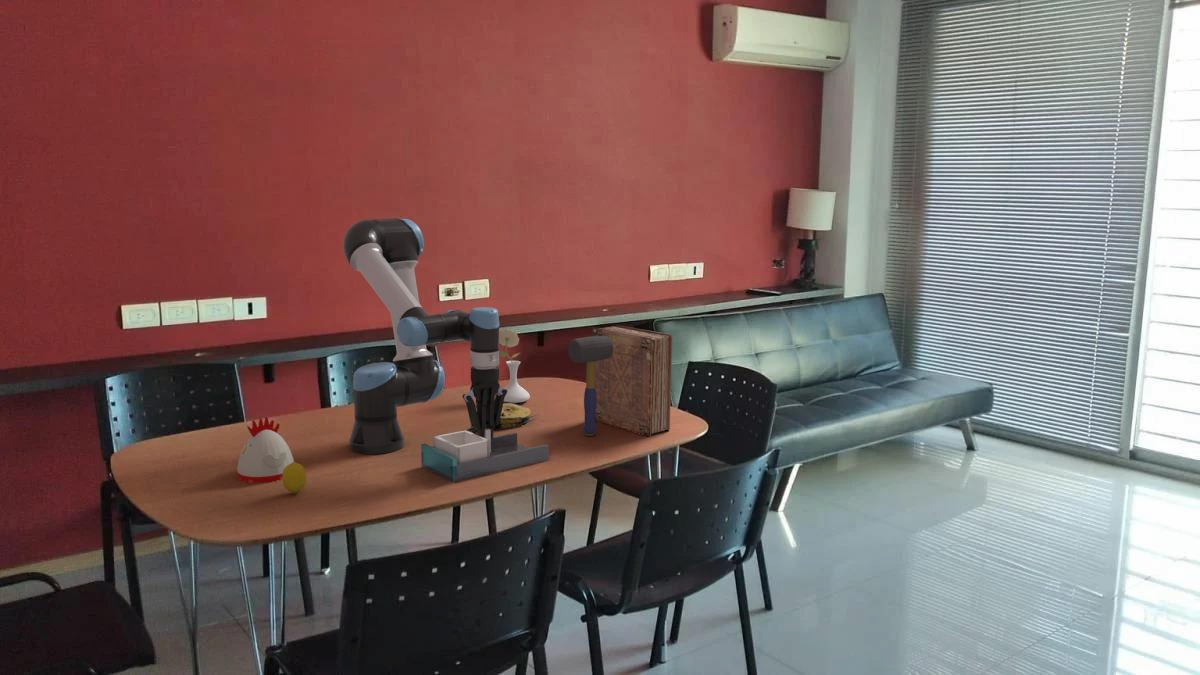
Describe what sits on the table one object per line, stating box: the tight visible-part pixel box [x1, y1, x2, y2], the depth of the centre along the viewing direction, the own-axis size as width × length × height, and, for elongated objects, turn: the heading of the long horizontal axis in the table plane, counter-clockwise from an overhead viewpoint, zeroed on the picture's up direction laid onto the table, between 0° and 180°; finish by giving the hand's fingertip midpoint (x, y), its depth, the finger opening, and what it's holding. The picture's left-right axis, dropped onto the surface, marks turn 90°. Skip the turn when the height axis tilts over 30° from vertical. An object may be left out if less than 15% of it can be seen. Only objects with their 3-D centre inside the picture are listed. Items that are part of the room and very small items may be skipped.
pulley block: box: [466, 402, 540, 434], centre depth 278 cm, size 14×6×30 cm
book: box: [591, 324, 673, 437], centre depth 278 cm, size 25×9×30 cm, turn 44°
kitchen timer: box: [236, 416, 295, 484], centre depth 230 cm, size 14×14×15 cm
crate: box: [432, 429, 490, 464], centre depth 237 cm, size 10×12×7 cm
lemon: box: [281, 461, 308, 495], centre depth 217 cm, size 6×6×8 cm
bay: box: [420, 431, 549, 483], centre depth 242 cm, size 30×16×6 cm, turn 130°
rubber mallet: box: [567, 336, 613, 437], centre depth 267 cm, size 12×8×30 cm, turn 124°
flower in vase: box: [499, 328, 531, 404], centre depth 307 cm, size 13×11×25 cm
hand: (485, 452), depth 242 cm, fingers closed
